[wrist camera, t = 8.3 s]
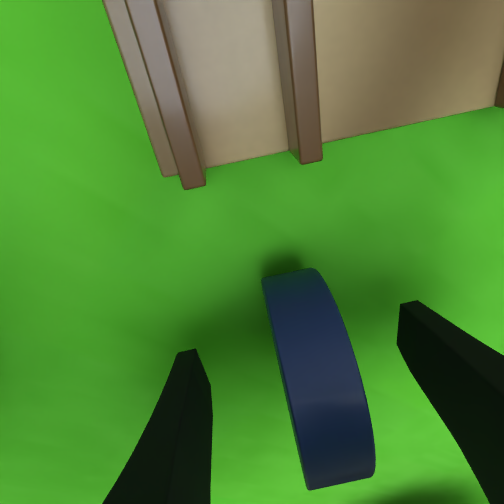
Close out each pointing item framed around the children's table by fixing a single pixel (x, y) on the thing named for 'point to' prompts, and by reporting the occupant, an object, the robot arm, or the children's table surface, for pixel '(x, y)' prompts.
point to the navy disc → (319, 380)
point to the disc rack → (300, 72)
